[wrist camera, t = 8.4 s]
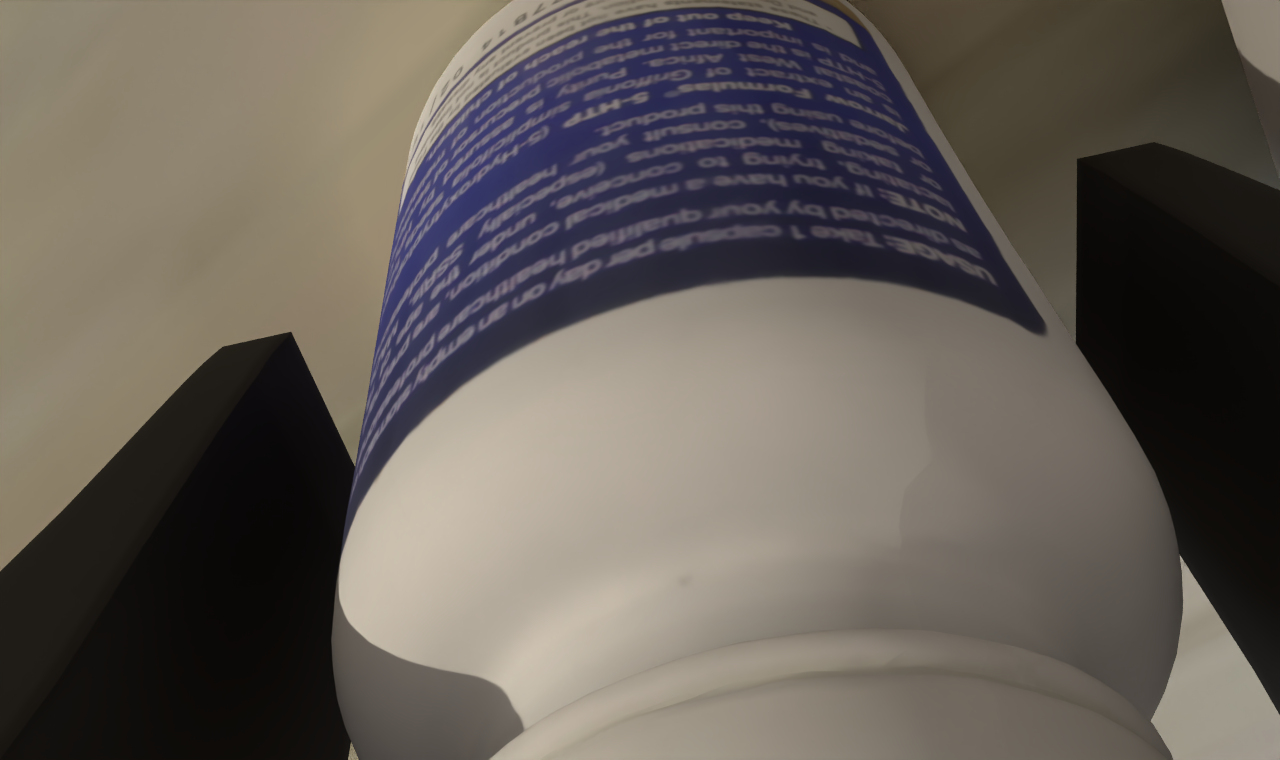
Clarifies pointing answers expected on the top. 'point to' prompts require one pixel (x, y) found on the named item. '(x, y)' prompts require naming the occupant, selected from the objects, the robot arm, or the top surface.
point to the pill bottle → (731, 424)
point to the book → (1260, 60)
